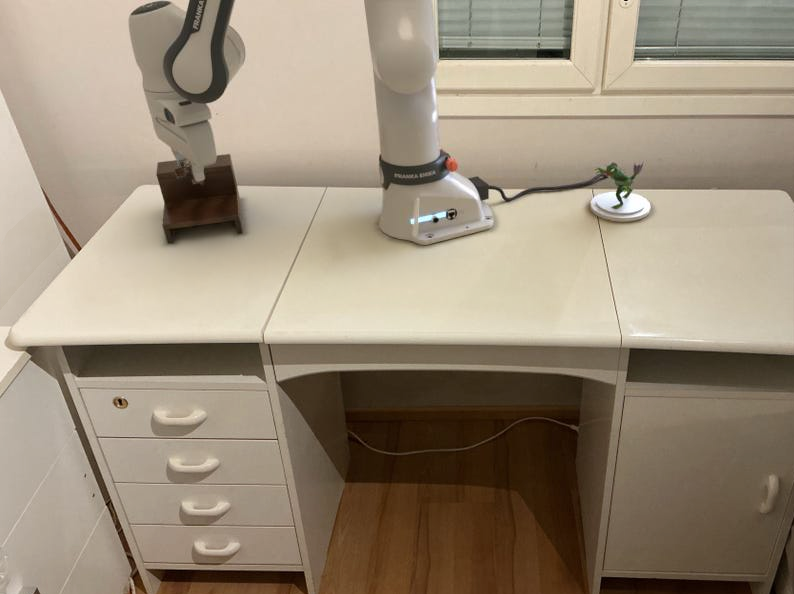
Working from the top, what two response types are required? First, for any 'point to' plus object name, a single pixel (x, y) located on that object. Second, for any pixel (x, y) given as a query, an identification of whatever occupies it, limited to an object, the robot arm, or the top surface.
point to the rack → (199, 196)
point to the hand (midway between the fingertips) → (192, 174)
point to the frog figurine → (620, 198)
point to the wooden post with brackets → (181, 173)
